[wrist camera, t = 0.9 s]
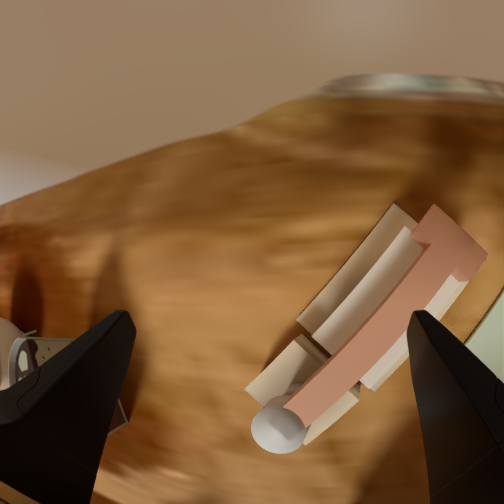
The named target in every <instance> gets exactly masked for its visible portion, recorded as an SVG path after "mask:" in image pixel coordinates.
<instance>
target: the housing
mask: <svg viewBox="0 0 504 504" xmlns="http://www.w3.org/2000/svg"><path fill="white" fill-rule="evenodd" d="M417 225H418V223H417V222H416V221H415V220H413V219H412V218H411V217H410V216H409V215H407V214H406V213H405V212H404V211H403V210H401V209H400V208H399V207H398V206H397V205H395V204H394V203H393V205H392V206H391V207H390V209H389V210H388V211H387V212H386V214H385V215H384V216H383V218H382V219H381V220H380V221H379V223H378V224H377V225H376V226H375V228H374V229H373V230H372V232H371V233H370V234H369V235H368V237H367V238H366V239H365V240H364V241H363V243H362V244H361V245H360V246H359V248H358V249H357V250H356V251H355V252H354V254H353V255H352V256H351V257H350V258H349V260H348V261H347V262H346V263H345V264H344V266H343V267H342V268H341V269H340V270H339V272H338V273H337V274H336V275H335V276H334V277H333V279H332V280H331V281H330V282H329V283H328V284H327V286H326V287H325V288H324V289H323V290H322V291H321V292H320V294H319V295H318V296H317V297H316V298H315V299H314V300H313V301H312V303H311V304H310V305H309V306H308V307H307V308H306V309H305V310H304V311H303V313H302V314H301V315H300V316H299V317H298V318H297V319H296V321H298V322H299V323H300V324H301V325H302V326H303V327H304V328H305V329H306V330H307V331H308V332H309V333H310V334H311V335H313V334H314V333H315V332H316V331H317V330H318V329H319V328H320V327H321V325H322V324H323V323H324V322H325V321H326V320H327V319H328V318H329V317H330V316H331V315H332V313H333V312H334V311H335V310H336V309H337V308H338V307H339V306H340V304H341V303H342V302H343V301H344V300H345V299H346V298H347V297H348V295H349V294H350V293H351V292H352V291H353V290H354V288H355V287H356V286H357V285H358V284H359V283H360V281H361V280H362V279H363V278H364V277H365V275H366V274H367V273H368V272H369V271H370V269H371V268H372V267H373V266H374V265H375V263H376V262H377V261H378V260H379V258H380V257H381V256H382V255H383V253H384V252H385V251H386V250H387V248H388V247H389V246H390V245H391V243H392V242H393V241H394V240H395V238H396V237H397V236H398V234H399V233H400V232H401V230H402V229H403V228H404V226H406V227H407V228H408V229H409V230H410V231H411V232H412V231H413V230H414V229H415V227H416V226H417ZM468 282H469V281H467V282H462V283H461V284H460V285H459V287H458V288H457V289H456V291H455V292H454V294H453V295H452V296H451V298H450V299H449V300H448V301H447V303H446V304H445V305H444V307H443V308H442V309H441V311H440V312H439V313H438V314H437V316H436V317H435V318H436V319H437V320H438V321H439V320H440V319H441V318H442V317H443V315H444V314H445V313H446V311H447V310H448V309H449V308H450V306H451V305H452V304H453V302H454V301H455V300H456V298H457V297H458V296H459V294H460V293H461V291H462V290H463V289H464V287H465V286H466V284H467V283H468ZM408 356H409V351H408V350H407V351H406V352H405V353H404V354H403V355H402V356H401V357H400V358H399V359H398V361H397V362H396V363H395V364H394V365H393V366H392V367H391V368H390V369H389V370H388V371H387V372H386V373H385V374H384V375H383V376H382V377H381V378H380V379H379V380H378V381H377V382H376V383H375V384H374V385H373V386H372V387H371V388H370V389H371V390H373V391H375V390H376V389H377V388H378V387H379V386H380V385H381V384H382V383H384V382H385V381H386V380H387V378H388V377H389V376H390V375H391V374H392V373H393V372H394V371H395V370H396V369H397V368H398V367H399V366H400V365H401V364H402V363H403V362H404V361H405V360H406V359H407V358H408ZM328 359H329V358H328V357H327V356H326V355H325V354H324V353H323V352H322V351H321V350H319V349H318V348H317V347H316V346H315V345H314V344H313V343H312V342H311V341H310V340H309V339H308V338H307V337H306V336H304V335H303V334H301V335H299V336H298V337H297V338H295V339H294V340H293V341H292V342H291V343H290V344H289V345H288V346H287V347H286V348H285V349H284V350H283V351H282V352H281V353H280V354H279V355H278V357H277V358H276V359H275V360H274V361H273V362H272V363H271V364H270V365H269V366H268V367H267V368H266V369H265V370H264V371H263V372H262V373H261V374H260V375H258V376H257V377H256V378H255V379H254V380H253V381H252V382H251V383H250V384H249V385H248V386H247V387H246V388H245V390H246V391H247V392H248V393H249V394H250V395H251V396H252V397H253V398H254V399H255V400H256V401H257V402H258V403H259V404H260V405H262V406H263V407H264V406H265V404H266V403H267V402H268V401H269V400H271V399H272V398H274V397H277V396H281V395H290V396H291V395H292V394H293V393H294V392H295V391H296V390H297V389H298V388H299V387H300V386H302V385H303V384H304V383H305V382H306V381H307V380H308V379H309V378H310V377H311V376H312V375H313V374H314V373H315V372H316V371H317V370H318V369H319V368H320V367H321V366H322V365H323V364H324V363H325V362H326V361H327V360H328ZM359 394H360V386H359V385H358V384H357V383H356V384H355V385H354V386H352V387H351V388H350V389H349V390H348V391H347V392H346V393H345V394H344V395H343V396H342V397H341V398H340V399H339V400H337V401H336V402H335V403H334V404H333V405H332V406H331V407H330V408H329V409H327V410H326V411H325V412H324V413H323V414H322V415H321V416H319V417H318V418H317V419H316V420H315V421H313V422H312V423H311V426H310V428H309V430H308V432H307V435H306V437H305V439H304V441H303V444H304V445H305V446H306V445H307V444H308V443H309V442H311V441H312V440H313V439H315V438H316V437H317V436H318V435H320V434H321V433H322V432H323V431H324V430H326V429H327V428H328V427H329V426H331V425H332V424H333V423H334V422H335V421H336V420H338V419H339V418H340V417H341V416H342V415H343V414H345V413H346V412H347V411H348V410H349V409H350V408H351V407H352V406H353V405H355V404H356V403H357V402H358V401H359Z"/></svg>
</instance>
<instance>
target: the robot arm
mask: <svg viewBox="0 0 504 504" xmlns="http://www.w3.org/2000/svg"><path fill="white" fill-rule="evenodd" d="M406 335H407V343H408V351H409V359H410V368H411V376H412V382H413V387H414V392H415V397H416V402H417V407H418V412H419V418H420V423H421V429H422V435H423V442H424V449H425V456H426V464H427V472H428V481H429V492H430V495H431V496H430V504H504V383H503V382H502V381H501V380H500V379H499V378H497V376H496V375H495V374H494V373H493V372H492V371H491V370H490V369H489V368H488V367H487V366H486V365H485V364H484V363H483V362H482V361H481V360H480V359H479V358H478V357H477V356H476V355H475V354H474V353H473V352H471V351H470V350H469V349H468V348H467V347H466V346H465V345H464V344H463V343H462V342H461V341H460V340H459V339H458V338H457V337H455V336H454V335H453V334H452V333H451V332H450V331H449V330H448V329H447V328H446V327H445V326H443V325H442V324H441V323H440V322H439V321H438V320H437V319H436V318H435V317H433V316H432V315H431V314H430V313H429V312H428V311H426V310H415V311H413V312H412V315H411V318H410V321H409V325H408V328H407V333H406ZM135 337H136V328H135V325H134V323H133V321H132V319H131V316H130V314H129V313H128V312H127V311H125V310H116V311H114V312H113V313H111V314H110V315H109V316H107V317H106V318H104V319H103V320H102V321H100V322H99V323H97V324H96V325H95V326H93V327H92V328H91V329H89V330H88V331H86V332H85V333H84V334H82V335H81V336H79V337H78V338H77V339H75V340H74V341H73V342H71V343H70V344H69V345H67V346H66V347H64V348H63V349H62V350H60V351H59V352H58V353H56V354H55V355H54V356H52V357H51V358H50V359H48V360H47V361H46V362H44V363H43V364H42V365H40V366H39V367H37V368H36V369H35V370H34V371H32V372H31V373H29V374H28V375H27V376H25V377H24V378H22V379H21V380H19V381H18V382H16V383H15V384H13V385H12V386H10V387H9V388H7V389H6V390H4V391H2V392H1V393H0V504H90V500H91V496H92V492H93V488H94V484H95V480H96V476H97V475H96V474H97V471H98V468H99V464H100V460H101V456H102V453H103V449H104V446H105V442H106V439H107V435H108V432H109V428H110V425H111V422H112V418H113V415H114V412H115V409H116V406H117V402H118V399H119V396H120V393H121V390H122V387H123V384H124V381H125V378H126V375H127V371H128V367H129V363H130V358H131V354H132V350H133V346H134V341H135Z"/></svg>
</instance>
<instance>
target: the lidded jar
mask: <svg viewBox="0 0 504 504" xmlns="http://www.w3.org/2000/svg"><path fill="white" fill-rule="evenodd" d="M23 334H24V333H23V332H22V331H20V330H19V329H18V328H17V327H16V326H15V325H14V324H13V323H12V322H10V321H8V320H6V319H3V318H0V390H4V389H7V388H9V387H10V385H9V377H8V360H9V354H10V350H11V347H12V345H13V343H14V341H15V340H16V339H17V338H18V337H21V336H22V335H23Z"/></svg>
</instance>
